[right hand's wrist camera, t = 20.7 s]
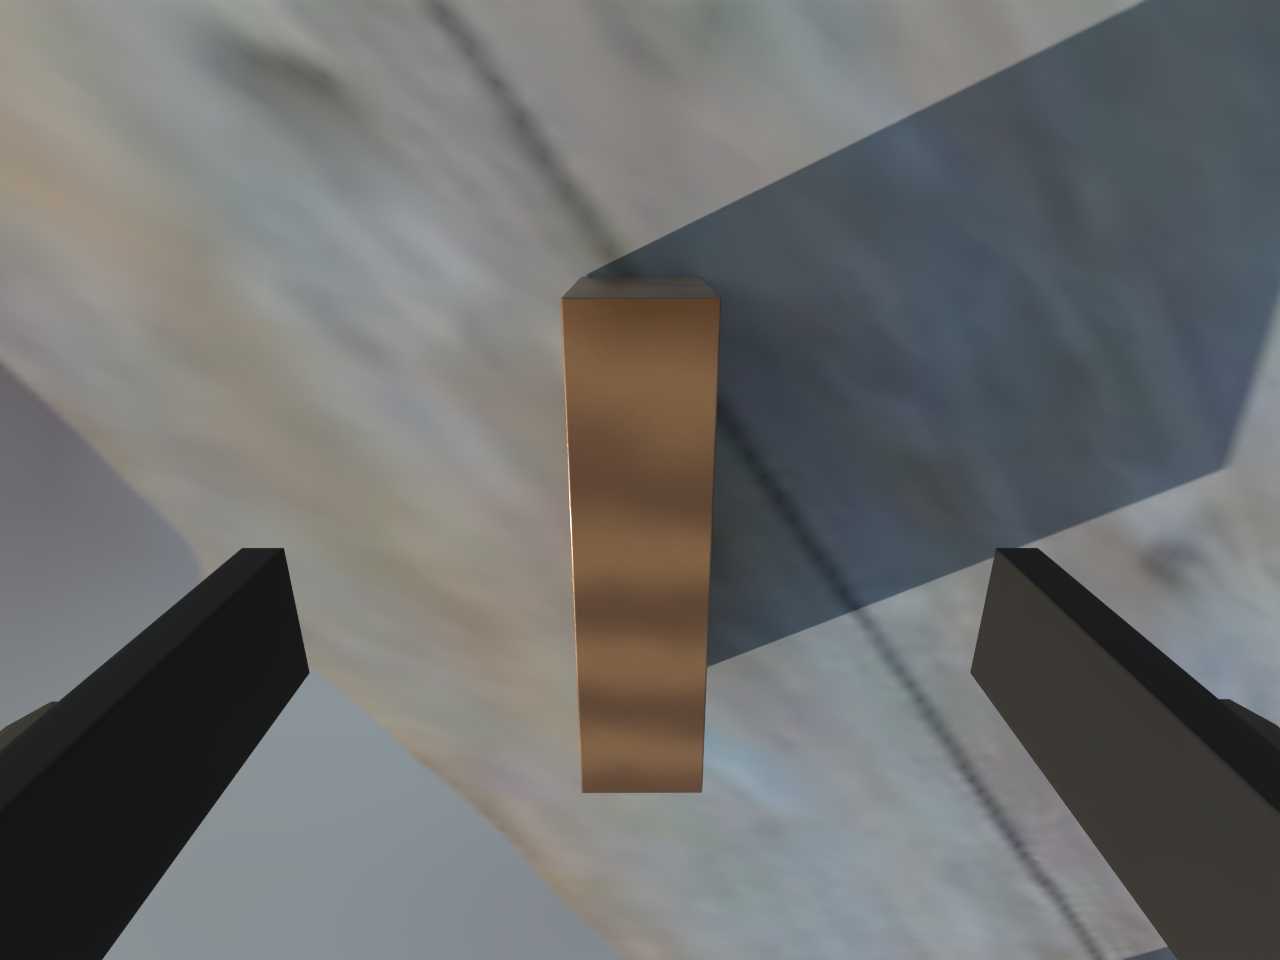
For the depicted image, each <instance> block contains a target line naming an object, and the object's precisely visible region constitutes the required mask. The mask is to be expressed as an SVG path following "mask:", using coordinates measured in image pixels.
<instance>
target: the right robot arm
mask: <svg viewBox="0 0 1280 960" xmlns="http://www.w3.org/2000/svg"><path fill="white" fill-rule="evenodd" d="M308 674H309V668H308V663H307V658H306V653H305V649H304V644H303V639H302V634H301V629H300V624H299V619H298V615H297V610H296V605H295V600H294V595H293V590H292V585H291V581H290V576H289V571H288V566H287V561H286V556H285V551H284V548H242V549H241V550H239V551H238V552H237V553H236V554H235V555H233V556H232V557H231V558H230V559H229V560H227V561H226V562H225V563H224V564H223V565H221V566H220V567H219V568H218V569H217V570H216V571H214V572H213V573H212V574H211V575H210V576H208V577H207V578H206V579H205V580H204V581H202V582H201V583H200V584H199V585H198V586H196V587H195V588H194V589H193V590H192V591H190V592H189V593H188V594H187V595H186V596H184V597H183V598H182V599H181V600H180V601H178V602H177V603H176V604H175V605H174V606H172V607H171V608H170V609H169V610H168V611H166V612H165V613H164V614H163V615H162V616H160V617H159V618H158V619H157V620H156V621H154V622H153V623H152V624H151V625H150V626H149V627H147V628H146V629H145V630H144V631H143V632H141V633H140V634H139V635H138V636H137V637H135V638H134V639H133V640H132V641H131V642H129V643H128V644H127V645H126V646H125V647H123V648H122V649H121V650H120V651H119V652H117V653H116V654H115V655H114V656H113V657H111V658H110V659H109V660H108V661H107V662H105V663H104V664H103V665H102V666H101V667H99V668H98V669H97V670H96V671H95V672H94V673H92V674H91V675H90V676H89V677H87V678H86V679H85V680H84V681H83V682H81V683H80V684H79V685H78V686H77V687H76V688H74V689H73V690H72V691H71V692H70V693H68V694H67V695H66V696H65V697H64V698H62V699H61V700H60V701H59V702H50V703H48V704H46V705H45V706H43V707H41V708H39V709H37V710H35V711H34V712H32V713H30V714H28V715H26V716H25V717H23V718H21V719H19V720H17V721H15V722H14V723H12V724H10V725H8V726H6V727H5V728H4V729H2V730H1V731H0V960H102V959H103V958H104V956H105V955H106V954H107V952H108V951H109V949H110V948H111V947H112V945H113V944H114V943H115V941H116V940H117V938H118V937H119V936H120V934H121V933H122V932H123V930H124V929H125V927H126V926H127V925H128V923H129V922H130V920H131V919H132V918H133V916H134V915H135V914H136V912H137V911H138V909H139V908H140V907H141V905H142V904H143V902H144V901H145V900H146V898H147V897H148V896H149V894H150V893H151V891H152V890H153V889H154V887H155V886H156V885H157V883H158V882H159V880H160V879H161V878H162V876H163V875H164V873H165V872H166V871H167V869H168V868H169V866H170V865H171V864H172V862H173V861H174V860H175V858H176V857H177V855H178V854H179V853H180V851H181V850H182V849H183V847H184V846H185V844H186V843H187V842H188V840H189V839H190V837H191V836H192V835H193V833H194V832H195V831H196V829H197V828H198V826H199V825H200V824H201V822H202V821H203V820H204V818H205V817H206V815H207V814H208V813H209V811H210V810H211V808H212V807H213V806H214V804H215V803H216V802H217V800H218V799H219V797H220V796H221V795H222V793H223V792H224V790H225V789H226V788H227V786H228V785H229V784H230V782H231V781H232V779H233V778H234V777H235V775H236V774H237V772H238V771H239V770H240V768H241V767H242V766H243V764H244V763H245V761H246V760H247V759H248V757H249V756H250V754H251V753H252V752H253V750H254V749H255V748H256V746H257V745H258V743H259V742H260V741H261V739H262V738H263V737H264V735H265V734H266V732H267V731H268V730H269V728H270V727H271V725H272V724H273V723H274V721H275V720H276V719H277V717H278V716H279V714H280V713H281V712H282V710H283V709H284V707H285V706H286V705H287V703H288V702H289V701H290V699H291V698H292V696H293V695H294V694H295V692H296V691H297V689H298V688H299V687H300V685H301V684H302V683H303V681H304V680H305V678H306V677H307V676H308ZM971 674H972V676H973V677H974V678H975V680H976V681H977V683H978V684H979V685H980V687H981V688H982V689H983V691H984V692H985V694H986V695H987V696H988V698H989V699H990V701H991V702H992V703H993V705H994V706H995V707H996V709H997V710H998V712H999V713H1000V714H1001V716H1002V717H1003V719H1004V720H1005V721H1006V723H1007V724H1008V725H1009V727H1010V728H1011V730H1012V731H1013V732H1014V734H1015V735H1016V737H1017V738H1018V739H1019V741H1020V742H1021V743H1022V745H1023V746H1024V748H1025V749H1026V750H1027V752H1028V753H1029V755H1030V756H1031V757H1032V759H1033V760H1034V761H1035V763H1036V764H1037V766H1038V767H1039V768H1040V770H1041V771H1042V772H1043V774H1044V775H1045V777H1046V778H1047V779H1048V781H1049V782H1050V784H1051V785H1052V786H1053V788H1054V789H1055V790H1056V792H1057V793H1058V795H1059V796H1060V797H1061V799H1062V800H1063V802H1064V803H1065V804H1066V806H1067V807H1068V808H1069V810H1070V811H1071V813H1072V814H1073V815H1074V817H1075V818H1076V820H1077V821H1078V822H1079V824H1080V825H1081V826H1082V828H1083V829H1084V831H1085V832H1086V833H1087V835H1088V836H1089V838H1090V839H1091V840H1092V842H1093V843H1094V844H1095V846H1096V847H1097V849H1098V850H1099V851H1100V853H1101V854H1102V855H1103V857H1104V858H1105V860H1106V861H1107V862H1108V864H1109V865H1110V867H1111V868H1112V869H1113V871H1114V872H1115V873H1116V875H1117V876H1118V878H1119V879H1120V880H1121V882H1122V883H1123V885H1124V886H1125V887H1126V889H1127V890H1128V891H1129V893H1130V894H1131V896H1132V897H1133V898H1134V900H1135V901H1136V903H1137V904H1138V905H1139V907H1140V908H1141V909H1142V911H1143V912H1144V914H1145V915H1146V916H1147V918H1148V919H1149V920H1150V922H1151V923H1152V925H1153V926H1154V927H1155V929H1156V930H1157V932H1158V933H1159V934H1160V936H1161V937H1162V938H1163V940H1164V941H1165V943H1166V944H1167V945H1168V947H1169V948H1170V950H1171V951H1172V952H1173V954H1174V955H1175V956H1176V958H1177V959H1178V960H1280V728H1279V727H1278V726H1277V725H1275V724H1274V723H1272V722H1270V721H1268V720H1266V719H1265V718H1263V717H1261V716H1259V715H1257V714H1255V713H1254V712H1252V711H1250V710H1248V709H1246V708H1244V707H1243V706H1241V705H1239V704H1237V703H1235V702H1233V701H1232V700H1230V699H1218V698H1216V697H1215V696H1214V695H1213V694H1212V693H1210V692H1209V691H1208V690H1207V689H1206V688H1204V687H1203V686H1202V685H1201V684H1200V683H1198V682H1197V681H1196V680H1195V679H1194V678H1193V677H1191V676H1190V675H1189V674H1188V673H1187V672H1185V671H1184V670H1183V669H1182V668H1181V667H1179V666H1178V665H1177V664H1176V663H1175V662H1173V661H1172V660H1171V659H1170V658H1169V657H1167V656H1166V655H1165V654H1164V653H1163V652H1161V651H1160V650H1159V649H1158V648H1157V647H1155V646H1154V645H1153V644H1152V643H1151V642H1149V641H1148V640H1147V639H1146V638H1145V637H1143V636H1142V635H1141V634H1140V633H1139V632H1137V631H1136V630H1135V629H1134V628H1133V627H1131V626H1130V625H1129V624H1128V623H1127V622H1126V621H1124V620H1123V619H1122V618H1121V617H1120V616H1118V615H1117V614H1116V613H1115V612H1114V611H1112V610H1111V609H1110V608H1109V607H1108V606H1106V605H1105V604H1104V603H1103V602H1102V601H1100V600H1099V599H1098V598H1097V597H1096V596H1094V595H1093V594H1092V593H1091V592H1090V591H1088V590H1087V589H1086V588H1085V587H1084V586H1082V585H1081V584H1080V583H1079V582H1078V581H1076V580H1075V579H1074V578H1073V577H1072V576H1070V575H1069V574H1068V573H1067V572H1066V571H1064V570H1063V569H1062V568H1061V567H1060V566H1059V565H1057V564H1056V563H1055V562H1054V561H1053V560H1051V559H1050V558H1049V557H1048V556H1047V555H1045V554H1044V553H1043V552H1042V551H1041V550H1039V549H1038V548H996V551H995V556H994V561H993V566H992V571H991V576H990V581H989V585H988V590H987V595H986V600H985V605H984V610H983V615H982V619H981V624H980V629H979V634H978V639H977V644H976V649H975V653H974V658H973V663H972V668H971Z"/></svg>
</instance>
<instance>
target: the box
mask: <svg viewBox="0 0 1280 960" xmlns="http://www.w3.org/2000/svg"><path fill="white" fill-rule="evenodd" d="M561 319H562V343H563V366H564V390H565V413H566V437H567V460H568V484H569V507H570V531H571V554H572V578H573V601H574V625H575V648H576V672H577V695H578V719H579V742H580V766H581V790H582V793H701V792H702V782H703V756H704V731H705V705H706V679H707V653H708V628H709V602H710V576H711V550H712V525H713V499H714V473H715V447H716V422H717V396H718V370H719V344H720V319H721V298H720V297H719V296H718V295H717V294H716V293H715V291H714V290H713V289H712V288H711V287H710V286H709V285H708V284H707V283H706V282H705V281H704V280H703V279H702V278H701V277H699V276H675V277H581V278H580V279H579V280H578V281H577V282H576V283H575V284H574V285H573V286H572V287H571V288H570V289H569V290H568V292H567V293H566V294H565V295H564V296H563V297H562V298H561Z"/></svg>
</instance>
